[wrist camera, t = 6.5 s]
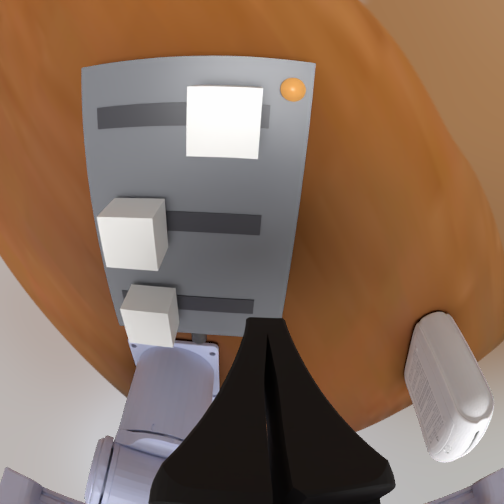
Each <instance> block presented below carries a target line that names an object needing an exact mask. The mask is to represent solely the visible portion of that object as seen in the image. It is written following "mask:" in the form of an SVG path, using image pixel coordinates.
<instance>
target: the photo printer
mask: <svg viewBox="0 0 504 504" xmlns="http://www.w3.org/2000/svg"><path fill="white" fill-rule="evenodd" d="M404 377H405V382H406V385H407V388H408V391H409V394H410V397H411V399H412V402H413V405H414V408H415V411H416V414H417V417H418V420H419V424H420V427H421V430H422V434H423V437H424V440H425V444H426V447H427V450H428V452H429V455H430V456H431V457H432V458H433V459H435V460H436V461H439V462H451V461H454V460H456V459H457V458H460V457H462V456H464V455H466V454H468V453H469V452H470V451H471V450H472V449H473V448H474V447H475V446H476V445H477V444H478V442H479V441H480V439H481V438H482V436H483V435H484V433H485V431H486V430H487V427H488V425H489V423H490V421H491V417H492V414H493V409H494V397H493V394H492V392H491V390H490V387H489V385H488V383H487V381H486V379H485V377H484V375H483V373H482V371H481V369H480V367H479V365H478V363H477V361H476V359H475V357H474V355H473V353H472V351H471V349H470V348H469V346H468V344H467V342H466V340H465V339H464V337H463V335H462V333H461V331H460V330H459V328H458V326H457V325H456V323H455V321H454V320H453V318H452V317H451V316H450V315H449V314H445V313H444V312H434V313H431V314H429V315H427V316H425V317H423V318H422V319H421V320H420V322H419V323H417V324H416V326H415V329H414V332H413V335H412V340H411V344H410V348H409V353H408V357H407V361H406V366H405V372H404Z"/></svg>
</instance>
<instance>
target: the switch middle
mask: <svg viewBox="0 0 504 504" xmlns="http://www.w3.org/2000/svg"><path fill="white" fill-rule="evenodd" d="M97 222H98V228H99V233H100V238H101V243H102V248H103V253H104V258H105V262H106V267H111V268H124V269H137V270H150V271H158V270H159V268H160V265H161V263H162V261H163V258H164V256H165V254H166V251H167V249H168V236H167V223H166V209H165V199H155V198H114V199H113V200H112V201H111V202H110V203H109V204H108V205H107V206H106V207H105V208H104V209H103V211H102V212H101V213H100V214H99V215H98V216H97Z"/></svg>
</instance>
